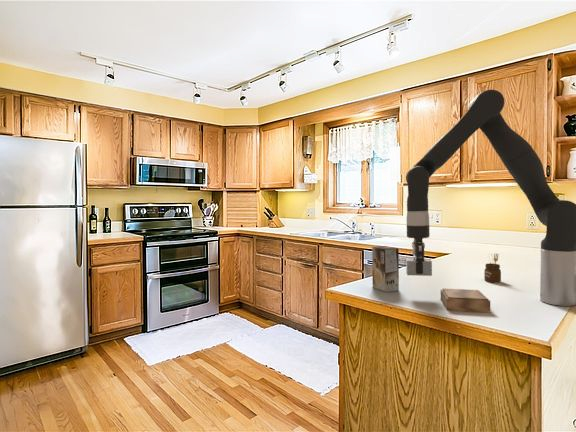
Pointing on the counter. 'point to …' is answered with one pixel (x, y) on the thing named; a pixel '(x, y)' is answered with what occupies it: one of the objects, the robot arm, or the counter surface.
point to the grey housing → (412, 267)
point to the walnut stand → (465, 300)
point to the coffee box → (385, 268)
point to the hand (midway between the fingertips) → (418, 271)
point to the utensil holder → (492, 271)
